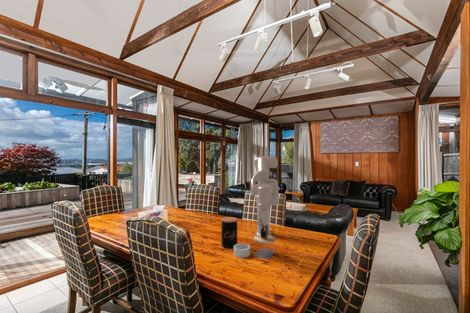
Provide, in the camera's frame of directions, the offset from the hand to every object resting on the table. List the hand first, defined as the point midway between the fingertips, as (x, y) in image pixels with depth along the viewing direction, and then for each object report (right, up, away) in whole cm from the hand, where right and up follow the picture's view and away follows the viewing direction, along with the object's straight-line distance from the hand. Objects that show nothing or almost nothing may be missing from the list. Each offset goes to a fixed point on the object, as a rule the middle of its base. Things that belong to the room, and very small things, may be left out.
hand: (264, 235), depth 140 cm
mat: (0, -11, -1) cm, 11 cm away
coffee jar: (-22, -12, +13) cm, 28 cm away
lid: (0, -2, 0) cm, 3 cm away
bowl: (-14, -11, -1) cm, 18 cm away
